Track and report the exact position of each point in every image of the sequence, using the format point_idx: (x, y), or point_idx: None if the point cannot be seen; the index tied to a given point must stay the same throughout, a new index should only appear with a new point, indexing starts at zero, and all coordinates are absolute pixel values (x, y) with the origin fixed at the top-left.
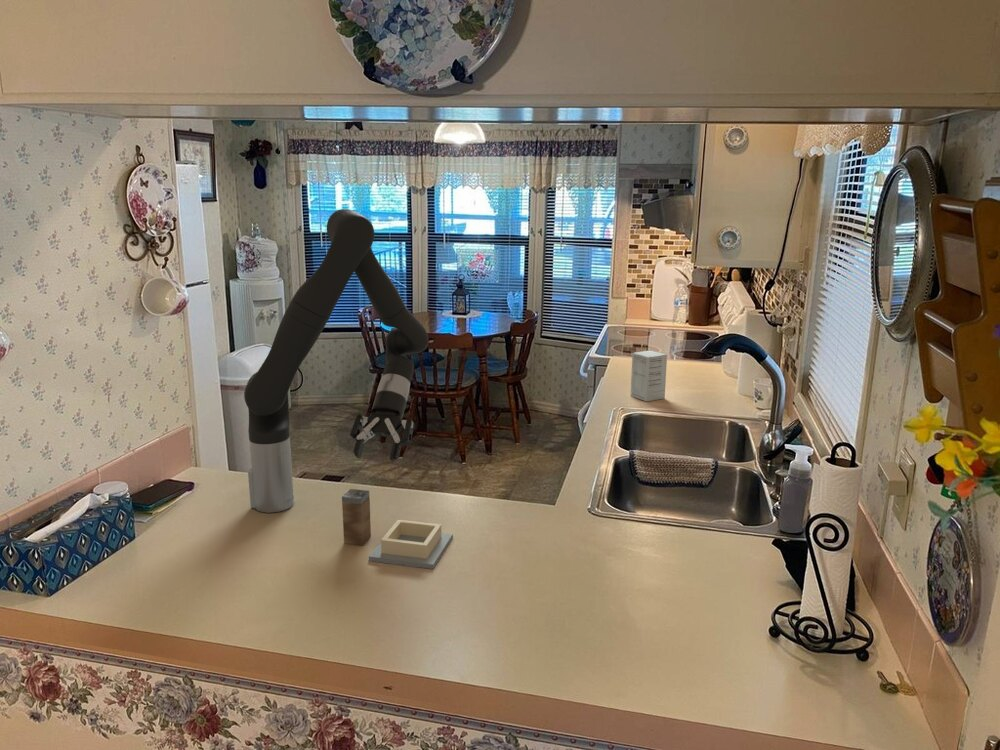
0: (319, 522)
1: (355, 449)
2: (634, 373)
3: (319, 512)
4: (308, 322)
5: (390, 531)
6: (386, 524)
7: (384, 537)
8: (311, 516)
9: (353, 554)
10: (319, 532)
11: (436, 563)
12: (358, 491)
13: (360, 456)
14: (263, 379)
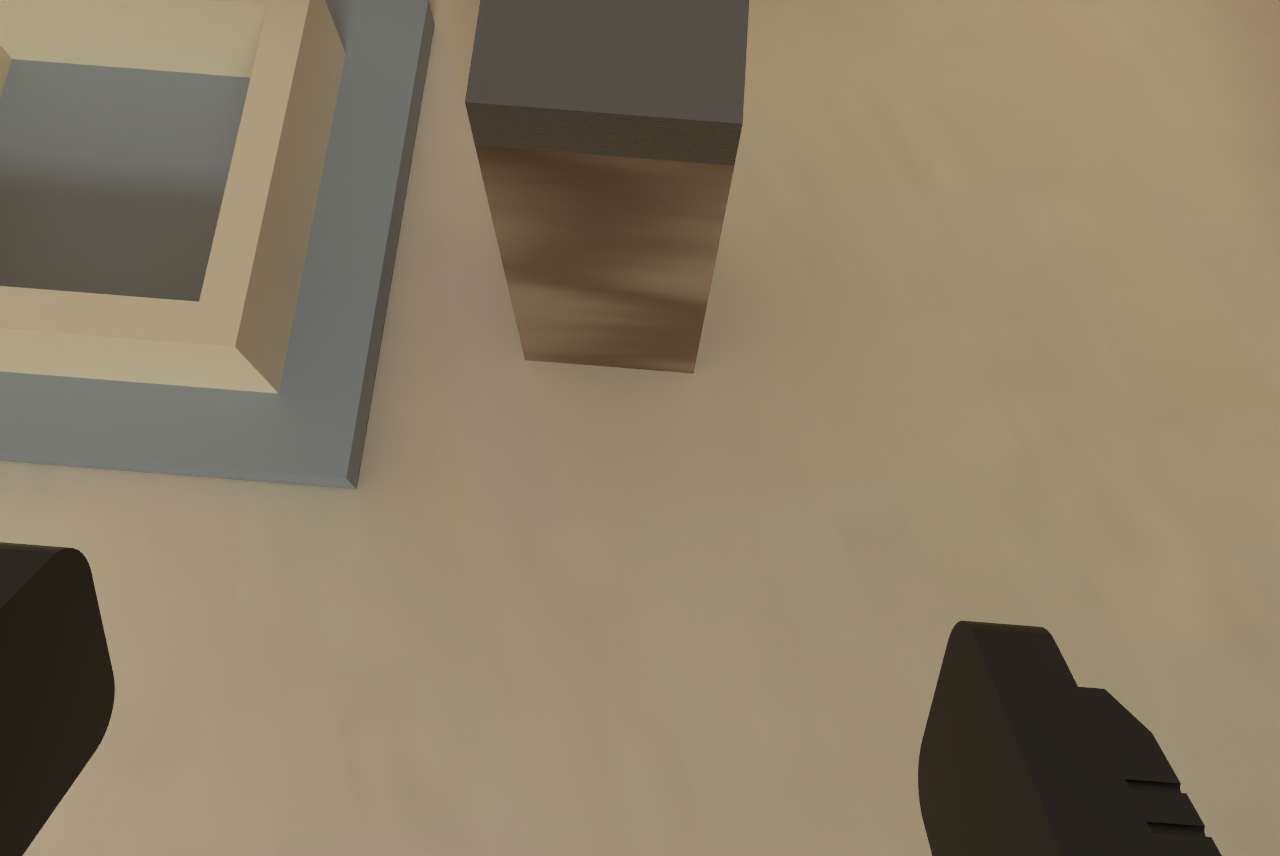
0: (1082, 550)
1: (1123, 766)
2: None
3: (1199, 766)
4: None
5: (263, 116)
6: (452, 613)
7: (294, 15)
8: (1223, 661)
9: None
10: (984, 369)
11: None
12: (604, 67)
13: (930, 801)
14: None
